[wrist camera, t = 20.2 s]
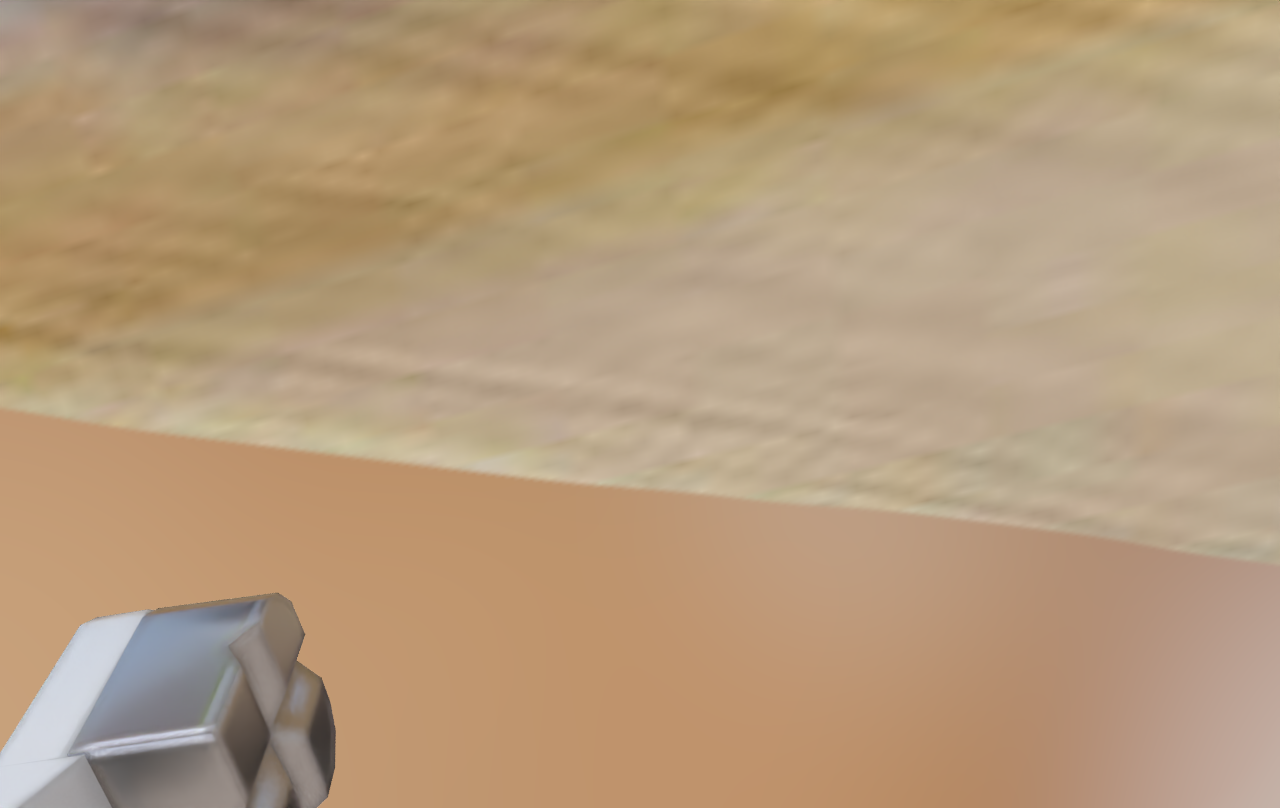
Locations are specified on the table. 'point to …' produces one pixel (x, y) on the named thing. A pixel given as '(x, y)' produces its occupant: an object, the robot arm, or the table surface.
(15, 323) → the table surface
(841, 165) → the table surface
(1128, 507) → the table surface
